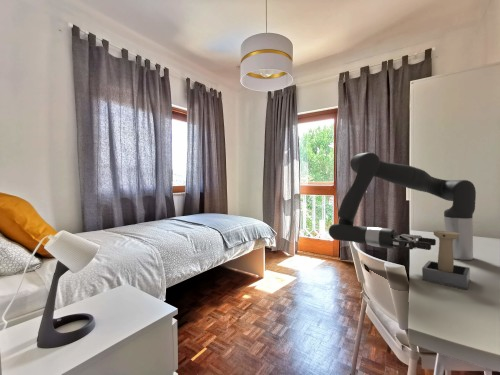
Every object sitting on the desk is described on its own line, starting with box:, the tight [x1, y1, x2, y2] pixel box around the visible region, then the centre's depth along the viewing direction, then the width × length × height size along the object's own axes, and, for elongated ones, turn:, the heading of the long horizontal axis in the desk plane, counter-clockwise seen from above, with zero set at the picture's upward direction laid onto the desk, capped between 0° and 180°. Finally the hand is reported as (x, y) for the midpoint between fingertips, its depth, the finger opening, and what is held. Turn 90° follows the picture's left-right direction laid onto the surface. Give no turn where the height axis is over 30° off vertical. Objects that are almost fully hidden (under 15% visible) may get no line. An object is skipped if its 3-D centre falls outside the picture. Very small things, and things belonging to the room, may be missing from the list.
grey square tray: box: [421, 260, 471, 291], centre depth 77 cm, size 11×11×4 cm
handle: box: [433, 230, 459, 273], centre depth 77 cm, size 5×6×15 cm
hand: (433, 244), depth 79 cm, fingers open, 8 cm apart
